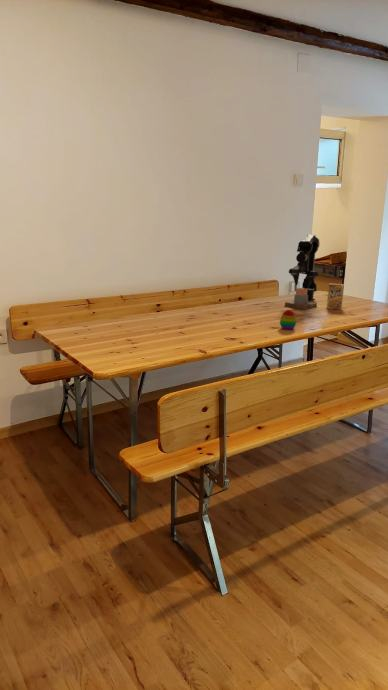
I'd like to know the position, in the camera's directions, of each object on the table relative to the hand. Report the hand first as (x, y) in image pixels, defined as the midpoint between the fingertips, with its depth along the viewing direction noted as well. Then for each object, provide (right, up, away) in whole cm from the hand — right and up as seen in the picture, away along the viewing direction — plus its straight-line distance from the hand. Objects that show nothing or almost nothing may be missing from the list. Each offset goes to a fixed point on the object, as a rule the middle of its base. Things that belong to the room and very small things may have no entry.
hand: (302, 286), depth 317 cm
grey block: (0, -10, +3) cm, 10 cm away
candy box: (+20, -14, 0) cm, 24 cm away
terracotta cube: (0, -5, +2) cm, 6 cm away
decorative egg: (-19, -28, -52) cm, 62 cm away
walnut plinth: (0, -12, +4) cm, 13 cm away
